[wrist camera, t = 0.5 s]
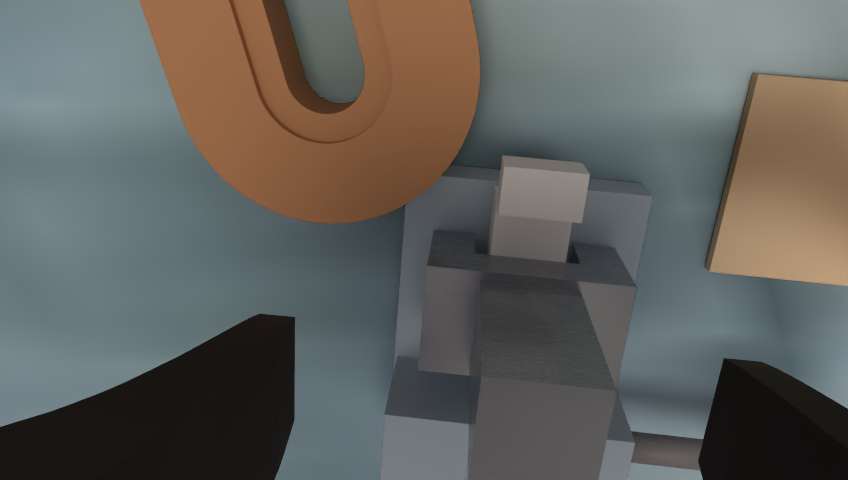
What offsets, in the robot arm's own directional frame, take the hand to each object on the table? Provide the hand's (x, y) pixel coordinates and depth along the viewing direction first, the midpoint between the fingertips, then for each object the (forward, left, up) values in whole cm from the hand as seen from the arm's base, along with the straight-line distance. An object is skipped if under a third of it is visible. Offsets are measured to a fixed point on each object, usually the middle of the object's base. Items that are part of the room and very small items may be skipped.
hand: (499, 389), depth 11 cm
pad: (+2, -10, -10) cm, 14 cm away
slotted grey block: (-2, -1, -8) cm, 9 cm away
